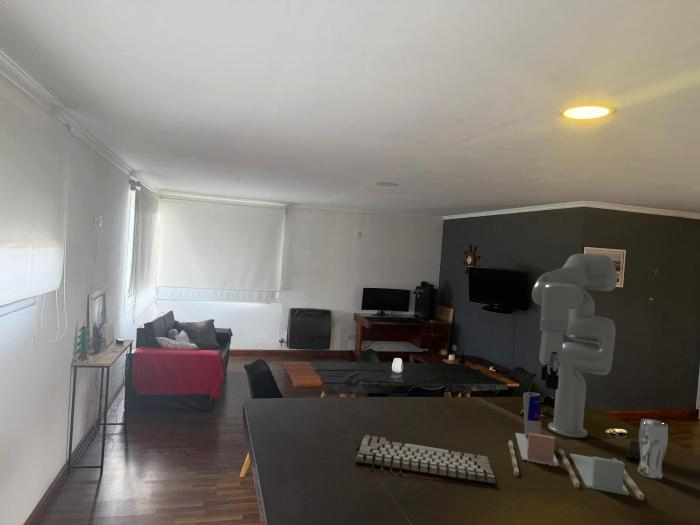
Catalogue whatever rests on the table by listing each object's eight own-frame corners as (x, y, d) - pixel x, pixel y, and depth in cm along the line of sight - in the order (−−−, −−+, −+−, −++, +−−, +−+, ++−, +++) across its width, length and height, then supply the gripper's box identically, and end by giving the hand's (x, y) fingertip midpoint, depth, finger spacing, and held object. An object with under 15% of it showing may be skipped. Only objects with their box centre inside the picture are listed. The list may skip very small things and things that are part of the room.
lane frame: (508, 443, 149) (508, 439, 149) (615, 462, 141) (616, 458, 141) (514, 475, 126) (515, 471, 126) (643, 500, 118) (644, 495, 118)
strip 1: (515, 434, 158) (517, 412, 158) (547, 439, 155) (549, 417, 155) (522, 460, 137) (524, 434, 137) (558, 466, 134) (561, 440, 134)
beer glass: (630, 468, 137) (634, 417, 137) (652, 469, 138) (656, 419, 138) (647, 479, 130) (651, 426, 130) (670, 480, 131) (675, 427, 131)
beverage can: (540, 443, 148) (538, 395, 149) (523, 441, 151) (521, 393, 152) (543, 439, 152) (541, 392, 153) (526, 437, 155) (525, 391, 156)
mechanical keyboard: (487, 460, 136) (488, 449, 136) (498, 492, 117) (499, 479, 117) (359, 443, 141) (360, 432, 141) (350, 471, 122) (351, 458, 122)
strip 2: (569, 455, 143) (572, 430, 143) (605, 461, 141) (607, 436, 141) (586, 487, 122) (589, 458, 122) (629, 495, 120) (631, 466, 119)
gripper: (536, 321, 146) (532, 375, 146) (544, 328, 129) (538, 390, 129) (562, 324, 144) (558, 379, 144) (573, 331, 127) (568, 394, 127)
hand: (549, 384), depth 137 cm, fingers open, 9 cm apart
